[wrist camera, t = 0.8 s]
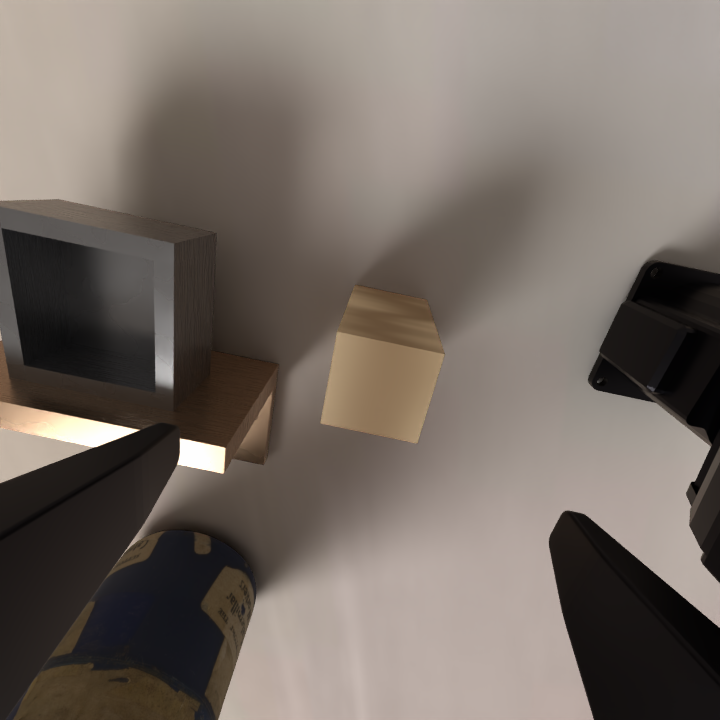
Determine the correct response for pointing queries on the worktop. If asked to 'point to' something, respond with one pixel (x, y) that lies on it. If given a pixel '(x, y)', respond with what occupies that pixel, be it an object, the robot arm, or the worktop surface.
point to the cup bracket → (121, 335)
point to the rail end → (383, 365)
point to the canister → (151, 637)
